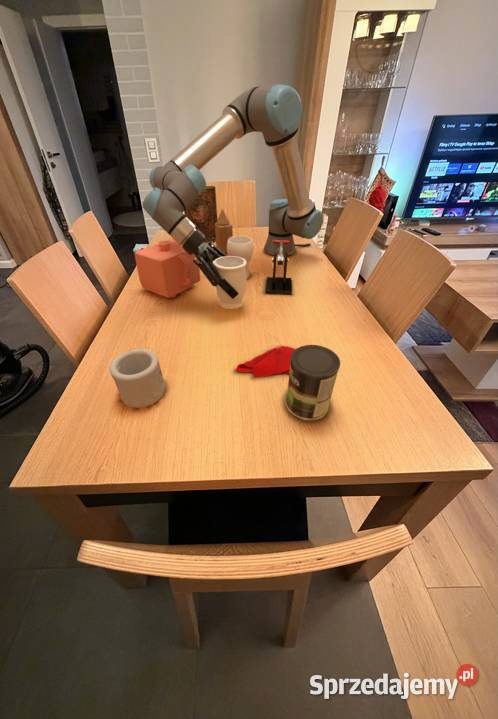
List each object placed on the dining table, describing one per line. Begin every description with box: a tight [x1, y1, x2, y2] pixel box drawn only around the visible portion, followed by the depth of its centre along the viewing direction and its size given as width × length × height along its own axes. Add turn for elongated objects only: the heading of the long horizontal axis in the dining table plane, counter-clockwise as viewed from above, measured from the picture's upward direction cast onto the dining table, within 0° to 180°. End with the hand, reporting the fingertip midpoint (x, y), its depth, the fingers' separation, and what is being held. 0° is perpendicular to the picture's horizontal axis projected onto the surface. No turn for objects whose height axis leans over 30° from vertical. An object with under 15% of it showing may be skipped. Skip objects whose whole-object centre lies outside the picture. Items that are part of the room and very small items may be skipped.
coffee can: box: [285, 344, 341, 422], centre depth 67 cm, size 10×10×14 cm
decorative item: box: [215, 207, 234, 255], centre depth 140 cm, size 7×7×20 cm
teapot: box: [134, 239, 201, 299], centre depth 114 cm, size 25×23×18 cm
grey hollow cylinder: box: [109, 348, 166, 409], centre depth 73 cm, size 14×11×10 cm
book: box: [183, 185, 218, 243], centre depth 152 cm, size 16×6×25 cm, turn 102°
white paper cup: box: [213, 256, 248, 310], centre depth 99 cm, size 11×10×15 cm
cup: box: [226, 235, 254, 279], centre depth 121 cm, size 11×11×15 cm
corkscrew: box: [273, 240, 289, 266], centre depth 113 cm, size 11×6×2 cm, turn 175°
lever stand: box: [264, 253, 293, 296], centre depth 114 cm, size 12×10×13 cm
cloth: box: [235, 345, 296, 378], centre depth 83 cm, size 26×14×2 cm, turn 84°
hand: (239, 288), depth 100 cm, fingers closed on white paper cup, 10 cm apart
